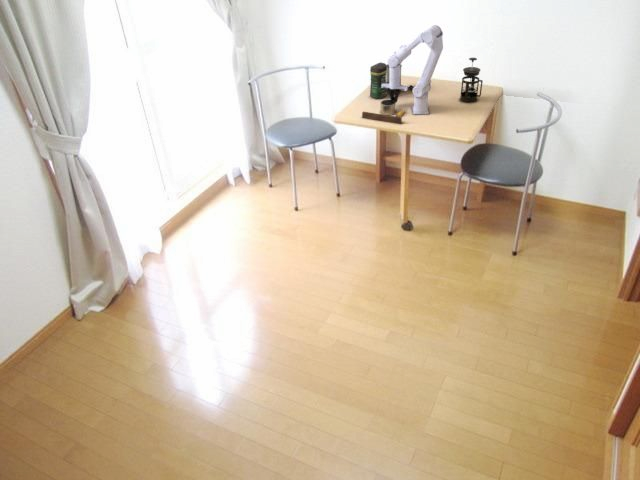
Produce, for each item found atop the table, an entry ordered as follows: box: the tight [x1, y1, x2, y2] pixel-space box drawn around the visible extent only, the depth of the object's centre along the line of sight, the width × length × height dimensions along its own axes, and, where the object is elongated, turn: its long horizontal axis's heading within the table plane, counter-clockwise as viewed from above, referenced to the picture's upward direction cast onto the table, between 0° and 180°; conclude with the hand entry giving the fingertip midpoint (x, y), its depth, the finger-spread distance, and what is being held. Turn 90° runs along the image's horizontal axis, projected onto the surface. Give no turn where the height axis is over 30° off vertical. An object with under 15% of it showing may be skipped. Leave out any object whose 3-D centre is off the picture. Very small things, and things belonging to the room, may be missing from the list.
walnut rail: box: [361, 111, 403, 125], centre depth 272 cm, size 22×2×3 cm, turn 61°
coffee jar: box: [369, 62, 387, 99], centre depth 294 cm, size 10×8×19 cm
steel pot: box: [380, 95, 397, 116], centre depth 281 cm, size 15×8×6 cm, turn 150°
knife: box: [395, 109, 405, 118], centre depth 274 cm, size 12×2×1 cm, turn 150°
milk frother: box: [386, 63, 416, 93], centre depth 299 cm, size 14×16×15 cm
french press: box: [459, 57, 484, 104], centre depth 279 cm, size 12×9×23 cm
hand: (394, 101), depth 284 cm, fingers closed on steel pot
